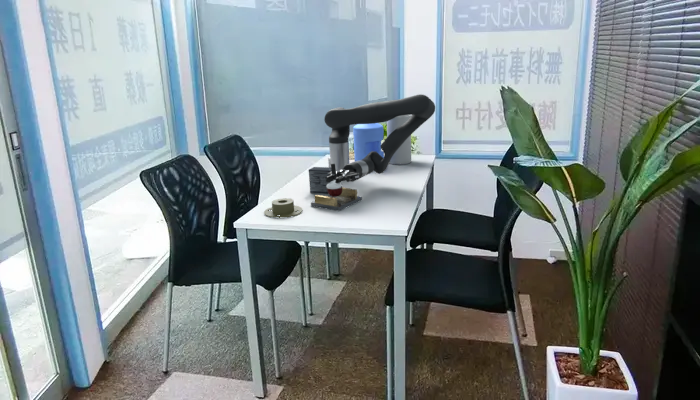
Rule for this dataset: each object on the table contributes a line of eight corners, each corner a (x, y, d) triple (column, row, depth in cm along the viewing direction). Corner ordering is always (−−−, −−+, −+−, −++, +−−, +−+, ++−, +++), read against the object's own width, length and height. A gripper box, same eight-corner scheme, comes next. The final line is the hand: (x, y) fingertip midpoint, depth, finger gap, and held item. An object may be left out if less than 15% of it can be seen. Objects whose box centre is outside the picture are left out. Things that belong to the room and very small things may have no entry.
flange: (306, 196, 214) (271, 195, 217) (294, 207, 200) (257, 206, 203) (307, 207, 215) (272, 206, 219) (295, 219, 201) (258, 218, 205)
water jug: (348, 167, 278) (346, 113, 270) (365, 161, 290) (363, 109, 282) (374, 170, 269) (372, 114, 261) (390, 164, 282) (388, 110, 274)
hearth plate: (310, 206, 216) (310, 195, 214) (334, 196, 228) (333, 185, 227) (339, 210, 208) (338, 199, 207) (361, 200, 220) (361, 189, 219)
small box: (337, 190, 238) (336, 166, 235) (332, 194, 232) (330, 170, 229) (315, 188, 241) (313, 166, 238) (309, 192, 235) (307, 169, 232)
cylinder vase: (384, 164, 282) (383, 116, 275) (391, 159, 293) (390, 113, 286) (407, 165, 277) (407, 117, 270) (414, 160, 288) (413, 113, 281)
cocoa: (338, 199, 212) (335, 170, 208) (323, 198, 215) (321, 170, 211) (347, 191, 221) (345, 163, 217) (333, 190, 223) (330, 163, 219)
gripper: (341, 160, 229) (316, 169, 216) (369, 163, 221) (345, 172, 208) (342, 177, 231) (318, 187, 218) (370, 180, 223) (346, 191, 210)
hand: (331, 180), depth 213 cm, fingers closed on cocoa, 4 cm apart
